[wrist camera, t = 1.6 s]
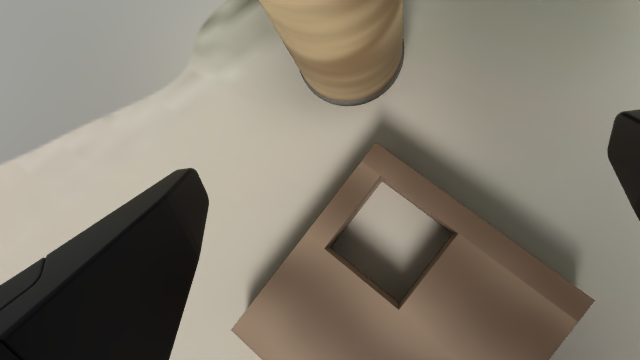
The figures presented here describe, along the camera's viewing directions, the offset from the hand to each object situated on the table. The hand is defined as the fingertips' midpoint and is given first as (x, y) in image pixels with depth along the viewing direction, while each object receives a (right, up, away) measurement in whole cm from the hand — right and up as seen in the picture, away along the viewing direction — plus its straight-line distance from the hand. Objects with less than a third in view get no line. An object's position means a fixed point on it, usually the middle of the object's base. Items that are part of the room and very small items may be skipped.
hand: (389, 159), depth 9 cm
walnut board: (+3, -7, +12) cm, 15 cm away
